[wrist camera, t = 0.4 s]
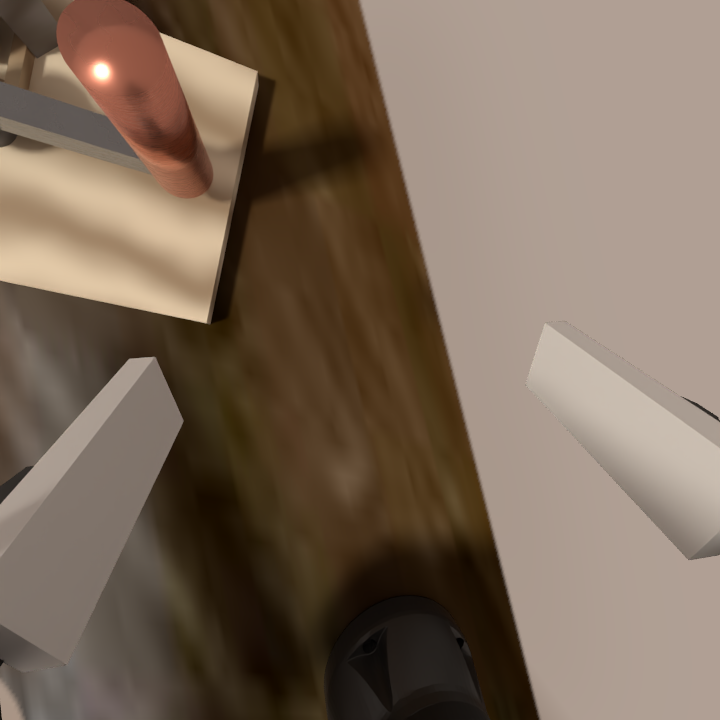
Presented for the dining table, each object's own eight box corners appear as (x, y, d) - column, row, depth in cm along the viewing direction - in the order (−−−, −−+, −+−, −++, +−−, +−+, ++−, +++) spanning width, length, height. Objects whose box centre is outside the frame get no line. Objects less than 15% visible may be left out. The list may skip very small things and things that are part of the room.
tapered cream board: (210, 324, 28) (189, 318, 21) (-106, 258, 23) (-255, 226, 16) (258, 84, 28) (251, 7, 21) (-47, -35, 23) (-174, -181, 16)
